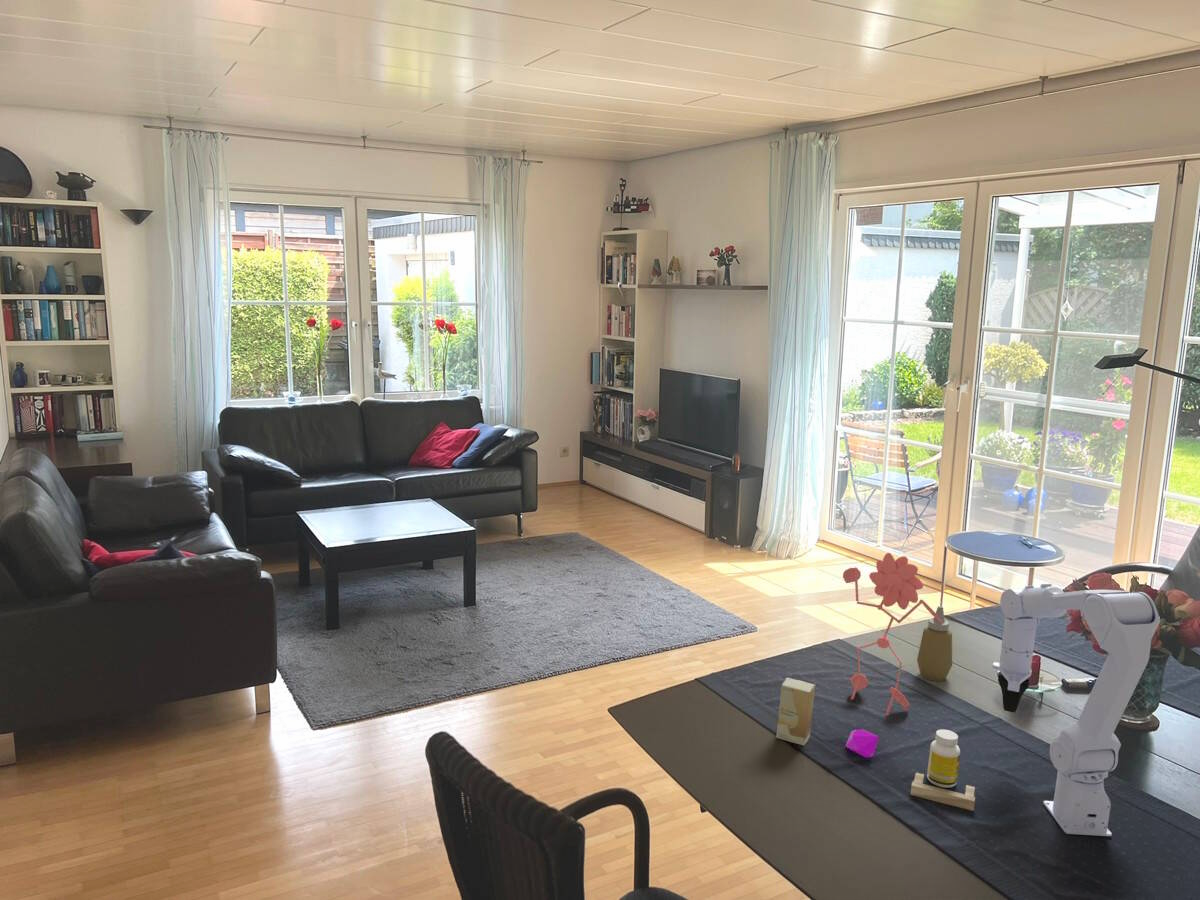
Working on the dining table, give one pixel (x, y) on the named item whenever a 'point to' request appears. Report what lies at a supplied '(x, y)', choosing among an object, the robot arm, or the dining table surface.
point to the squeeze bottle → (935, 649)
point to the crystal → (862, 742)
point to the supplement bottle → (944, 759)
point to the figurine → (894, 586)
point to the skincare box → (795, 711)
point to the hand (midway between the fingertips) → (1009, 710)
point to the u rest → (943, 794)
